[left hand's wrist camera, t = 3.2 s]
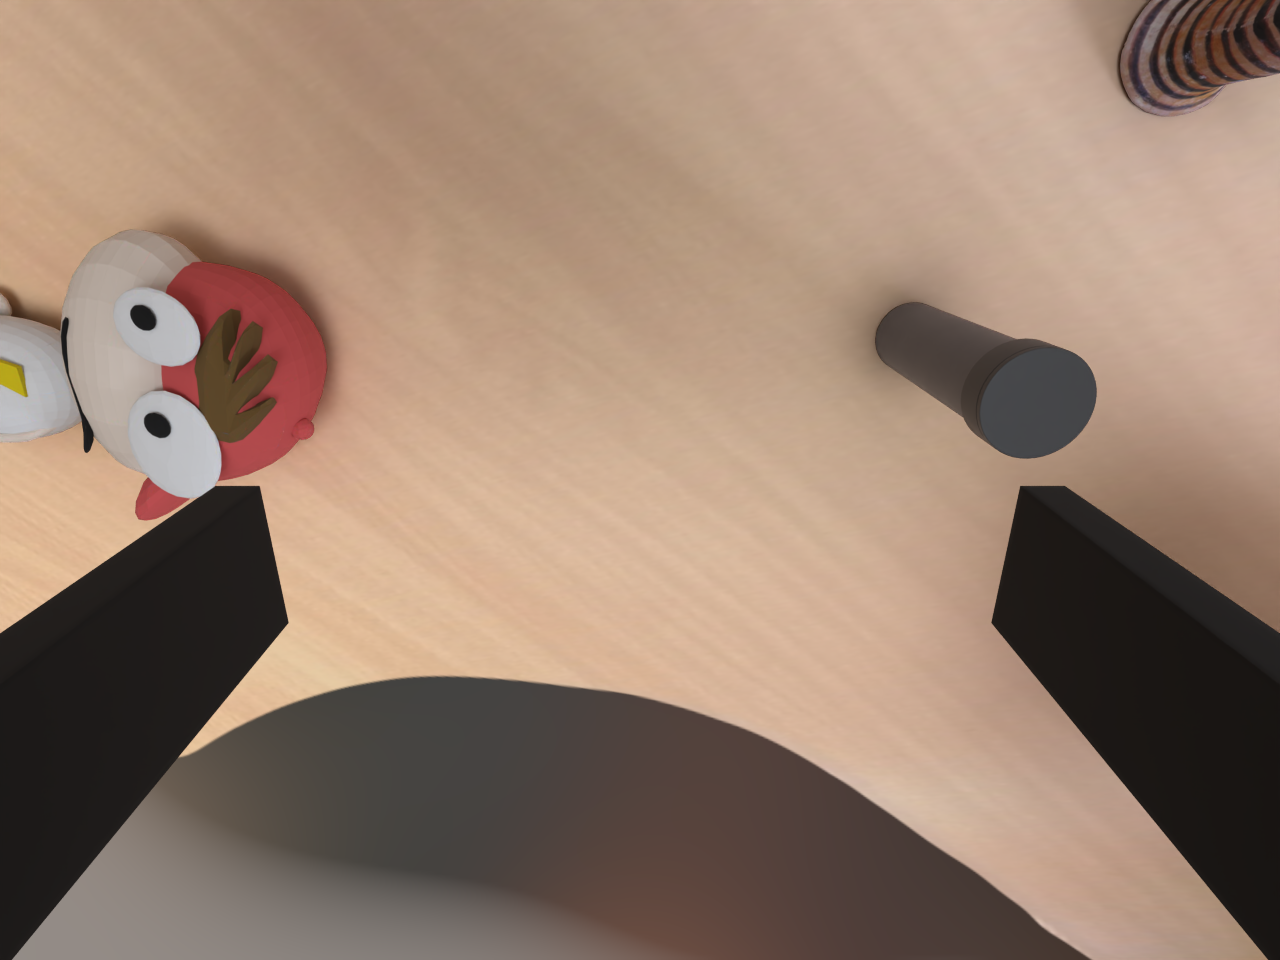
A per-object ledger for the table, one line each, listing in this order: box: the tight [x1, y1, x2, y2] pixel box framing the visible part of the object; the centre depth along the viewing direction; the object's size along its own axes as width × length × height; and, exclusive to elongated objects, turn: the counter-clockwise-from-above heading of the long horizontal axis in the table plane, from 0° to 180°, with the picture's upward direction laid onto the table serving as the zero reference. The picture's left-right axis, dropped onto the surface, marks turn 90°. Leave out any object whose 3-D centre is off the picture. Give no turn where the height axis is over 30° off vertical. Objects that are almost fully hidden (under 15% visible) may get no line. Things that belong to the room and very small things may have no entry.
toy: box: [0, 229, 327, 520], centre depth 44 cm, size 18×10×30 cm
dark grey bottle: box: [876, 303, 1017, 418], centre depth 39 cm, size 4×4×16 cm
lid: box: [961, 339, 1097, 459], centre depth 33 cm, size 5×5×2 cm
